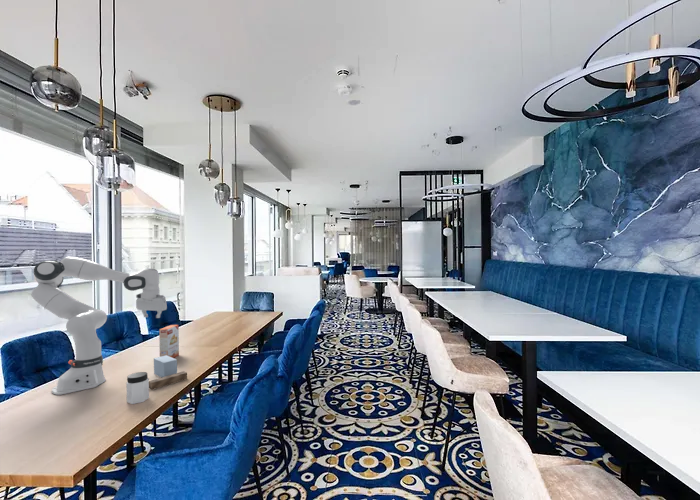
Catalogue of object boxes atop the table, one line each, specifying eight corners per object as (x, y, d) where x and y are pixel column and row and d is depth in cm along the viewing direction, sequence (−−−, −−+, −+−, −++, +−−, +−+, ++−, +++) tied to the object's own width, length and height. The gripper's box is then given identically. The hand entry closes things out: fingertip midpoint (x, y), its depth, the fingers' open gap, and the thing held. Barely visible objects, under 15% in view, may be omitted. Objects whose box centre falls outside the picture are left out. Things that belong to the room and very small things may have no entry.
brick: (164, 379, 190) (163, 362, 190) (154, 373, 199) (153, 358, 199) (177, 375, 195) (176, 359, 195) (166, 370, 204) (166, 355, 204)
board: (151, 389, 175) (151, 382, 175) (148, 388, 177) (148, 381, 177) (187, 379, 189) (187, 372, 189) (183, 377, 191) (183, 371, 191)
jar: (123, 401, 161) (123, 376, 161) (141, 395, 168) (140, 370, 168) (134, 405, 157) (133, 379, 157) (152, 398, 164) (151, 373, 164)
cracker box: (168, 361, 221) (167, 329, 221) (159, 361, 221) (158, 329, 221) (179, 355, 235) (179, 324, 235) (171, 355, 235) (170, 324, 235)
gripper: (169, 294, 209) (169, 317, 209) (142, 293, 214) (143, 315, 214) (160, 295, 202) (161, 319, 203) (133, 295, 208) (134, 318, 208)
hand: (151, 317), depth 209 cm, fingers open, 8 cm apart
